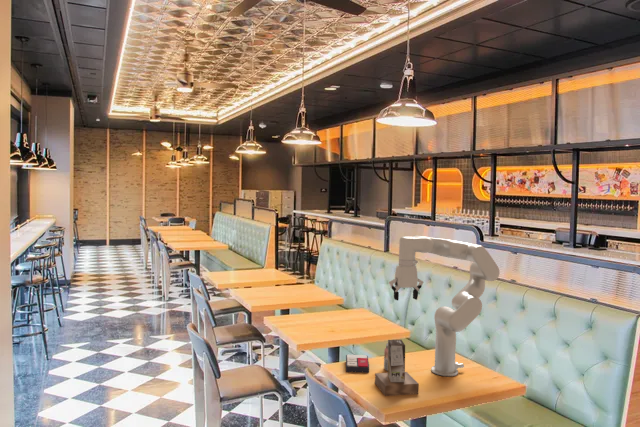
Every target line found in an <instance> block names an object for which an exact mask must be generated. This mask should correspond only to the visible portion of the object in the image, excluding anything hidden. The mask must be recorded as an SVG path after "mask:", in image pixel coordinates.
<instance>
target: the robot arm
mask: <svg viewBox="0 0 640 427" xmlns="http://www.w3.org/2000/svg"><path fill="white" fill-rule="evenodd" d="M398 244H399V247H398V265H396V268H395V271H394V272H395V273H394V274H395V275H394V278H393V279H391V280H390V281H389V282H388V284H389V286H390V288H391V289H392V292H393V300H395V301H400V300H399V299H400V298H399V297H400V296H399V295H400V294H399V293H400V292H399V291H400V289H405V288H407V289H408V288H411V289H413V290H412V299H414V300H416V301H417V300H418V298H419V297H418V296H419V292H420V289H422V286H423V284H424V281H423V280H421V279H419V278H418V277H419V276H418V269H417V266H416V264H418V263H419V262H418V260H416V253H422V254H427V253H429V254H433V255H436V256H439V257H443V258H448V259H449V258H450V259H456V260H461V261H468V262H471V264H470V266H469V280H468V282H467V283H466V285H465V286H464V287H463V288H462V289H460V290H459V291H458V292H457V293H456V294H455V295H454V296H453V298H452V299H451V305H452V307H453V308H452V307H450V306H445V305H444V306H440V307H438V308H437V309H436V310H435V312H434V318H433V319H434V325H435V326H434V327H435V344H434V346H435V347H434V348H435V350H434V366H432V367H431V368H430V369H431V370H430V371H431V372H432V373H433V374H435V375H438V376H441V377H455V376H458V374H459V370H458V369H461V368H465V365H464V363H459V362H457V361H456V350H457V349H456V347H457V346H456V344H457V333H460V332H462V331H464V330H465V329H466V328H467V327H468V326H469V325H470V324H471V323H473V321H474V320H475V319H476V318H478V316H479V315H480V314H481V312H482V308H483V303H482V302H483V301H481V298H480V297H481V296H482V295H483V294H484V292H485V289H486V281H488V282H494V281H496V280H497V279H498V278H499V277H500V268H499V266H498V265H497V264H498V263H496V261H495V259H494V258H493V257H492V255H491V254H490V253H489V251H488V250H487V249H486V248H485V247H484V246H483V245H481V244H475V243H470V242H464V241H459V240H452V239H447V238H446V239H445V238H437V237H436V238H435V237H429V236H425V235H424V236H422V235H416V234H415V235H413V236H401V237H400V238H399V242H398Z"/></svg>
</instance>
